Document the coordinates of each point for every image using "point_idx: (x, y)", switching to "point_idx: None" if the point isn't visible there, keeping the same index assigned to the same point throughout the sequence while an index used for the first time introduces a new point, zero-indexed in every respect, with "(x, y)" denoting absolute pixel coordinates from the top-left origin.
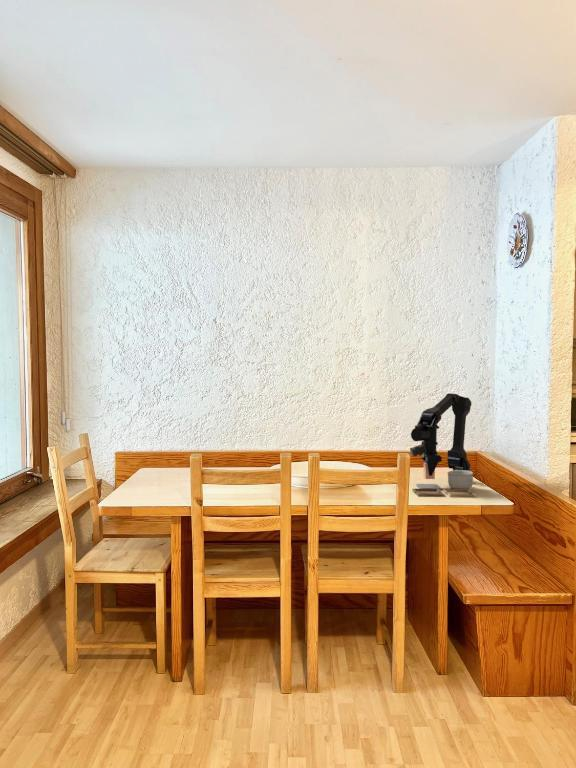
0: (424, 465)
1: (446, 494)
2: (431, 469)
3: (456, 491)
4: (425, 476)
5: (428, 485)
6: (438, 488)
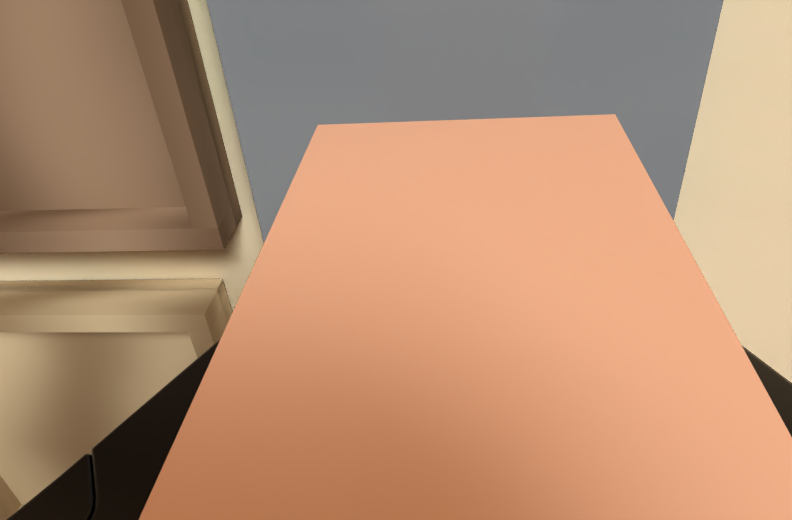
0: (541, 468)
1: (14, 291)
2: None
3: None
4: (325, 157)
5: None
6: None
